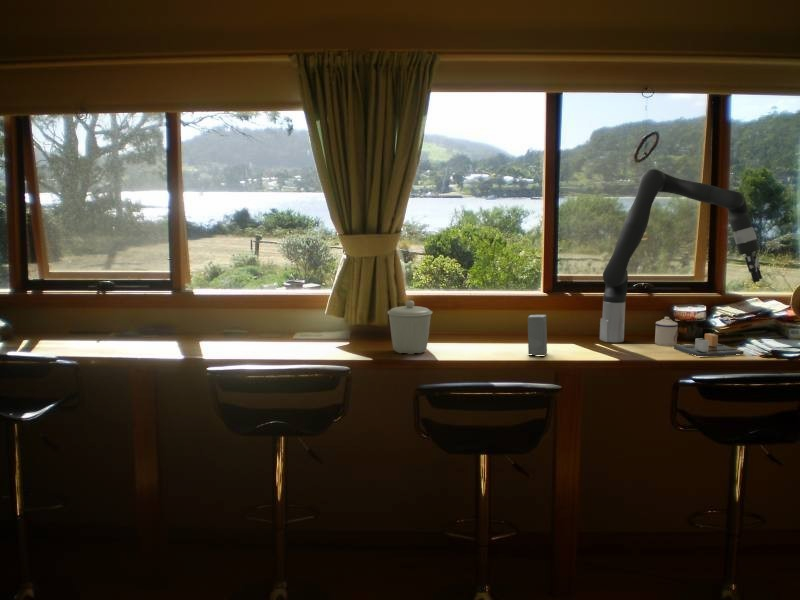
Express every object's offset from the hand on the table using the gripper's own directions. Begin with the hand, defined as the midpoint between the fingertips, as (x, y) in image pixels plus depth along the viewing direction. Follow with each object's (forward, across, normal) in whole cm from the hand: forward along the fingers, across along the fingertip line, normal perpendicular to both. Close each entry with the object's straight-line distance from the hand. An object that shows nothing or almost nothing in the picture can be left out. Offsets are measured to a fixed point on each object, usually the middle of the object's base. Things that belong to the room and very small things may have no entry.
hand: (758, 280), depth 273 cm
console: (+23, +4, -24) cm, 34 cm away
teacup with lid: (+17, -4, -42) cm, 45 cm away
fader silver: (+21, +11, -25) cm, 34 cm away
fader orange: (+21, -1, -24) cm, 32 cm away
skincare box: (+5, +45, -78) cm, 90 cm away
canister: (-10, +68, -121) cm, 139 cm away
